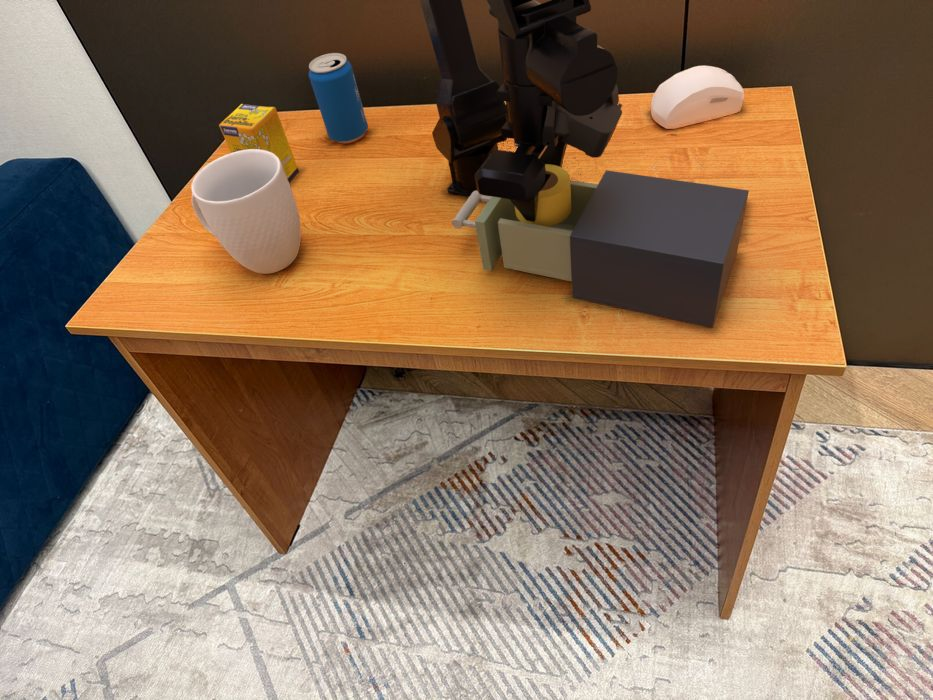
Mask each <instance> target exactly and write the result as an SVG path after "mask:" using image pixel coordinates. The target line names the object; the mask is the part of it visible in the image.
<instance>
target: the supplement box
mask: <svg viewBox="0 0 933 700" xmlns="http://www.w3.org/2000/svg"><path fill="white" fill-rule="evenodd" d="M281 121H282V120H281V118H280V116H279V113H278V110H277V108H276V107H275V106H262V105H253V104H246V103H241V104H240V105H238V107H237V108H235V110H233V111H232V112H231V113H230V114H229V115H228V116H227V117H226V118H224V120H223V121H221V122H220V123H219V124H218V127H219V129H220V131H221V134H222V135H223V138H224V140H225V142H226V145H227V147H228V149H229V151H230V153H233V152H237V151H241V150H249V149H259V150H266V151H269V152H271V153H273V154H275V155H276V156H277V157H278V158H279V160H280V162H281V164H282V167H283V170H284V172H285V174H286V177H287V180H288V181H289V183H291V181H292V180H293V179H294V178H295V177H296V176H297V174H299V172H300V171H299V167H298V165H297V162H296V159H295V157H294V154H293V151H292V148H291V145H290V144H289V140H288V138H287V137H288V136H287V135H286V132H285V130H284V127H283V124H282V122H281Z"/></svg>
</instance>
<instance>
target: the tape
mask: <svg viewBox="0 0 933 700" xmlns="http://www.w3.org/2000/svg"><path fill="white" fill-rule="evenodd" d="M545 169H546V174H551V176H550V178H549V179H548V181H547V183H546V184H545V186H544V187H543V189H542V190H541V191H540V192H539V195H538V207H537V216H536V220H535V221H534V222H531V221H527V220H525V218H524V217H523V216H522V214H521V213H520V212H519V211H518V209H517V208H516V207H515V212H516V216H517V218H518V219H519V220H520V221H521V222H524V223H530V224H535V225H541V226H547V227H549V226H553V225H556V224H558V223H560V222H562V221H564V220H565V219H566V218H567V217H568V216H569V214H570V212H571V182H570V180H571V176H570V173H569V172H568V170H566V169H565V168H564V167H562V168H561V167H559V166H556V165H551V164H545Z"/></svg>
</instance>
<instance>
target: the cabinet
mask: <svg viewBox="0 0 933 700" xmlns="http://www.w3.org/2000/svg"><path fill="white" fill-rule="evenodd" d="M597 184H598V186H597V188H596V189H595V191H594V193H593V195H592V197H591V198H590V200H589V202H588V204H587V206H586V207H585V209H584V211H583V213H582V215H581V216H580V218H579V220H578V222H577V224H576V226H575V227H574V229H573V231H572V233H571V235H570V255H571V279H572V282H571V295H572V299H577V300H582V301H586V302H591V303H595V304H598V305H599V304H600V305H605V306H609V307H614V308H618V309H623V310H626V311H627V310H628V311H632V312H636V313H642V314H645V315H651V316H655V317H660V318H665V319H669V320H674V321H677V322H683V323H687V324H691V325H697V326H700V327H706V328H711V329H713V328H714V325H715V322H716V320H717V317H718V313H719V310H720V307H721V304H722V301H723V299H724V296H725V295H724V294H725V292H726V289H727V287H728V282H729V280H730V277H731V275H732V274H731V273H732V271H733V268H734V265H735V262H736V259H737V255H738V251H739V245H740V241H741V234H742V230H743V225H744V224H743V223H744V218H745V214H746V208H747V204H748V198H749V192H750V190H749V189H741V188H735V187H727V186H722V185H713V184H707V183H699V182H692V181H685V180H679V179H672V178H662V177H657V176H649V175H642V174H636V173H628V172H621V171H614V170H605V171H604V173H603V175H602V176H601V178H600V181H599V183H597Z"/></svg>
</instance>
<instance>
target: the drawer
mask: <svg viewBox="0 0 933 700" xmlns="http://www.w3.org/2000/svg"><path fill="white" fill-rule="evenodd" d="M570 182H571V212H570V214H569V216H568V217H567V218H566V219H565V220H564V221H562V222H560V223H558V224H556V225H553V226H549V227H547V226H541V225H535V224H530V223H524V222H521V221H520V220H519V219H518V218H517V216H516V212H515V205H514V204H513V203H512V202H511V200H510V199H505V198H499V197H493V196H485V195H481V194H479V193H478V191H473V193H472V194H471V195H470V197H469V196H468V198H467V199H466V200H465V203H464V204H463V205H462V206H461V208H460V209H459V210H458V212H457V213H456V215H454V218H453V219H452V220H451V224H452V226H453V228H455V229H457V230H461V229H462V228H463V227H466V228H472V229H475V230H476V235H477V236H476V237H477V242H478V246H479V253H480V260H481V265H482V270H484V271H489V272H490V271H491V272H492V271H493V269H494V268H495V267H496V266H497V264H498V262H499V260H500V258H501V257H502V262H503V263H502V264H503V268H505V269H509V270H514V271H519V272H523V273H528V274H533V275H538V276H543V277H548V278H553V279H557V280H563V281H567V282H571V283H572V279H571V255H570V235H571V233H572V231H573V229H574V227H575V226H576V224H577V222H578V220H579V218H580V216H581V215H582V213H583V211H584V209H585V207H586V206H587V204H588V202H589V200H590V198H591V197H592V195H593V193H594V191H595V189H596V188H597V186H598V184H599V183H591V182H586V181H580V180H572V179H570ZM480 202H483V203H486V204H485V206H483V209H482V210H481V212H480V214H478V216H477V217H476V219H475V220H469V218H470V217H471V215H472V214H473V212H474V211H475V210H476V208H477V206H478V205H479V204H480Z"/></svg>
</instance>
